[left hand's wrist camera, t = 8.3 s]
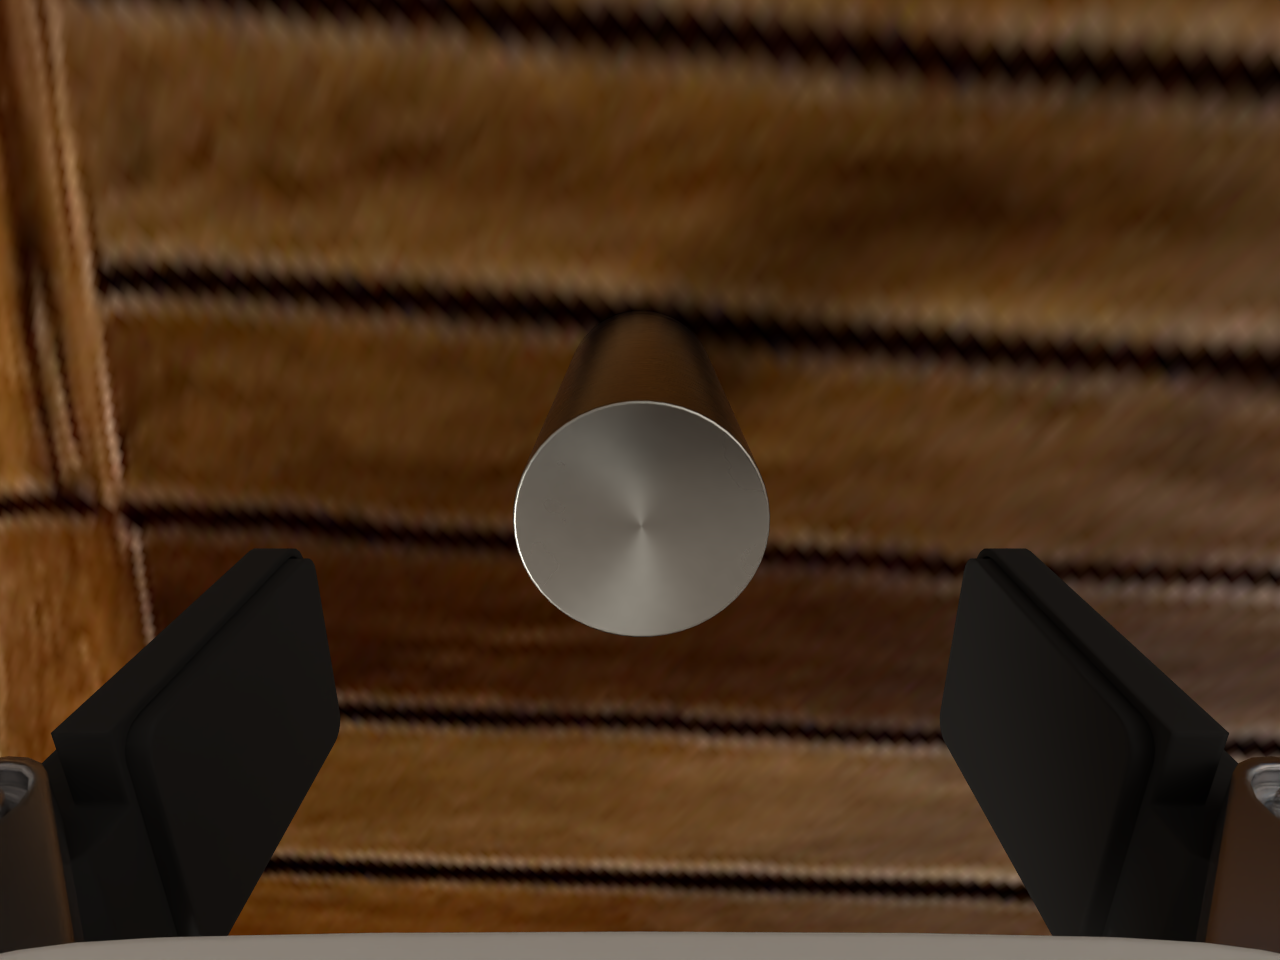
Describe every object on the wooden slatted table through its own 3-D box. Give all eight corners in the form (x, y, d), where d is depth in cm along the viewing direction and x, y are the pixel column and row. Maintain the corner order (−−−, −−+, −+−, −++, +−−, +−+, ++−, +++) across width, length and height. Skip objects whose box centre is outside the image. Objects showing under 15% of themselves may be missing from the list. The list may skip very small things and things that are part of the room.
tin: (588, 464, 27) (549, 658, 16) (553, 328, 26) (480, 431, 14) (724, 435, 27) (788, 612, 15) (697, 295, 25) (747, 374, 14)
